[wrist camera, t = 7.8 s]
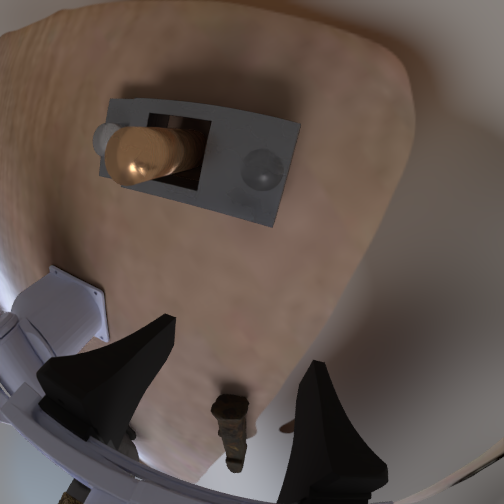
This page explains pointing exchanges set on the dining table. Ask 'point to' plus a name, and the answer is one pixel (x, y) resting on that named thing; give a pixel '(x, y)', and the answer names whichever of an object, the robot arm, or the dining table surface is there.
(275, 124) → the grey plate with knobs
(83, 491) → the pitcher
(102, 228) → the dining table surface
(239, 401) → the hand tool
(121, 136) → the copper pin
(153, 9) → the dining table surface
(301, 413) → the robot arm
